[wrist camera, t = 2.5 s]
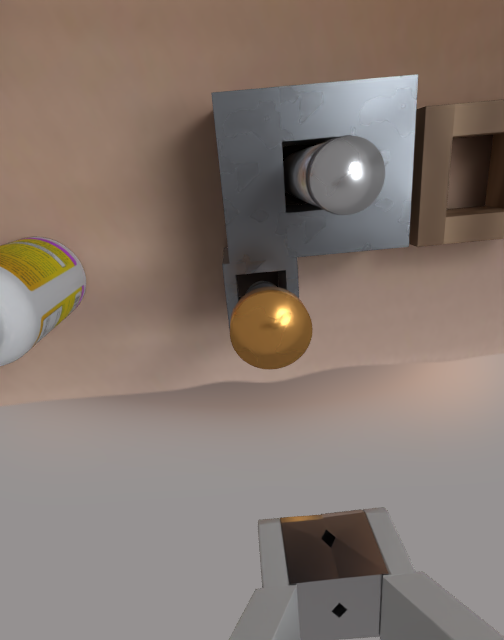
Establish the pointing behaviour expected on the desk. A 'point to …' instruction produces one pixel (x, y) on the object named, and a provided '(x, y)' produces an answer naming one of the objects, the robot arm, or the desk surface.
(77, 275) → the supplement bottle
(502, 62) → the desk surface
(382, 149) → the socket block
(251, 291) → the gold knob
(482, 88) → the desk surface
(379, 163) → the cylindrical peg
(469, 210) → the square frame block
